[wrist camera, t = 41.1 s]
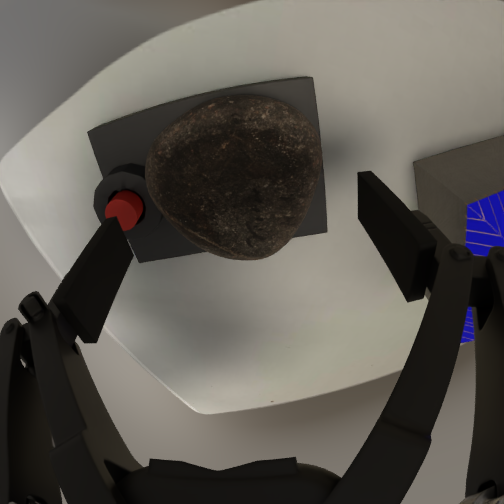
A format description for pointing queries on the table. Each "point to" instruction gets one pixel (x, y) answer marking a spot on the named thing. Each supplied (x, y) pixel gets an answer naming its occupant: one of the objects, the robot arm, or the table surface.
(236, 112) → the stone
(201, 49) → the table surface
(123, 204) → the tare button
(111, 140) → the scale
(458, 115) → the table surface
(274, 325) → the table surface
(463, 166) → the house
